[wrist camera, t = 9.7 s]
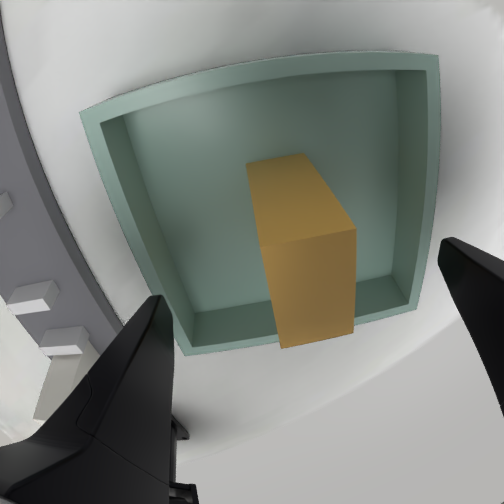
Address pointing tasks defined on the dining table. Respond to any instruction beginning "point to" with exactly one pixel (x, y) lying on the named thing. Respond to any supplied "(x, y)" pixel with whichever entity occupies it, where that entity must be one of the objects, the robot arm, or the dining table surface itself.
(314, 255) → the block
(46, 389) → the block
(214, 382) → the dining table surface
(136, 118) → the tray
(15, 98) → the block
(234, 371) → the dining table surface
